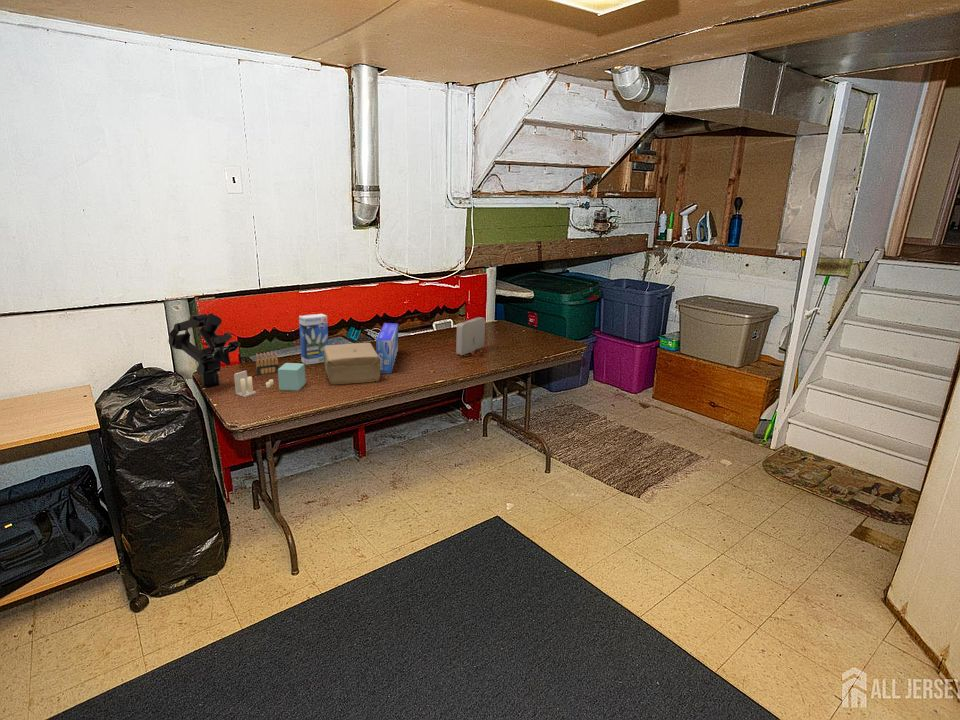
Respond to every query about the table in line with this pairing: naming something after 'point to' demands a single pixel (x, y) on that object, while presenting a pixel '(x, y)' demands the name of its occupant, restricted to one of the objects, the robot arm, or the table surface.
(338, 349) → the paper package
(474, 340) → the network device
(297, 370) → the housing
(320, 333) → the string lights box
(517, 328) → the table surface
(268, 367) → the ammunition clip
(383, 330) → the toner cartridge box
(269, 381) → the board
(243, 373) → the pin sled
